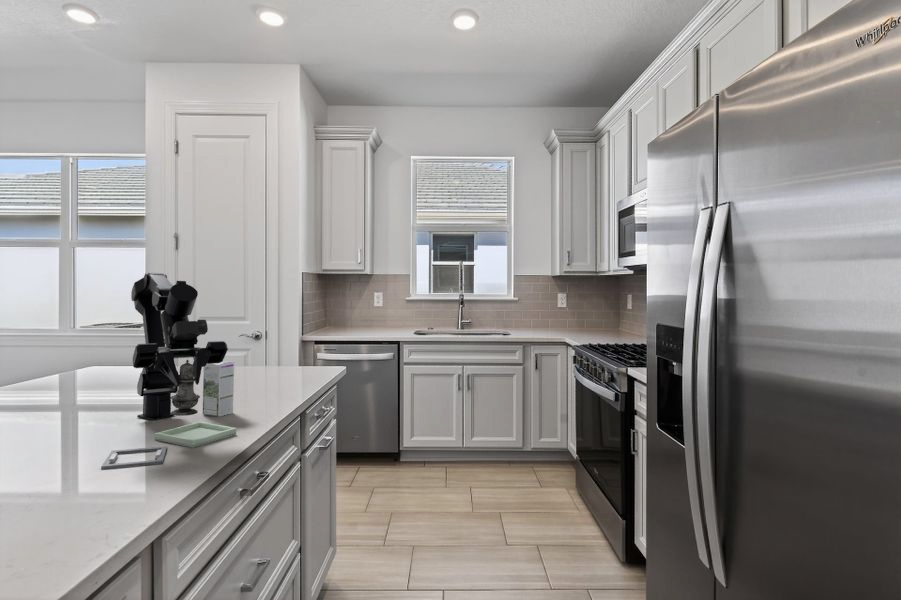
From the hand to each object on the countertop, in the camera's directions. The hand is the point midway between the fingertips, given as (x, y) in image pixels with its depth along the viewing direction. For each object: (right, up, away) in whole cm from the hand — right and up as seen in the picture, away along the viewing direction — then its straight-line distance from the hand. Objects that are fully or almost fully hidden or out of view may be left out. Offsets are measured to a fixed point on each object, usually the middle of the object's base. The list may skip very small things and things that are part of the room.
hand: (188, 384), depth 111 cm
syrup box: (-6, -13, +27) cm, 30 cm away
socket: (-5, -13, -10) cm, 17 cm away
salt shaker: (-1, -7, +1) cm, 7 cm away
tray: (-1, -13, +5) cm, 14 cm away
